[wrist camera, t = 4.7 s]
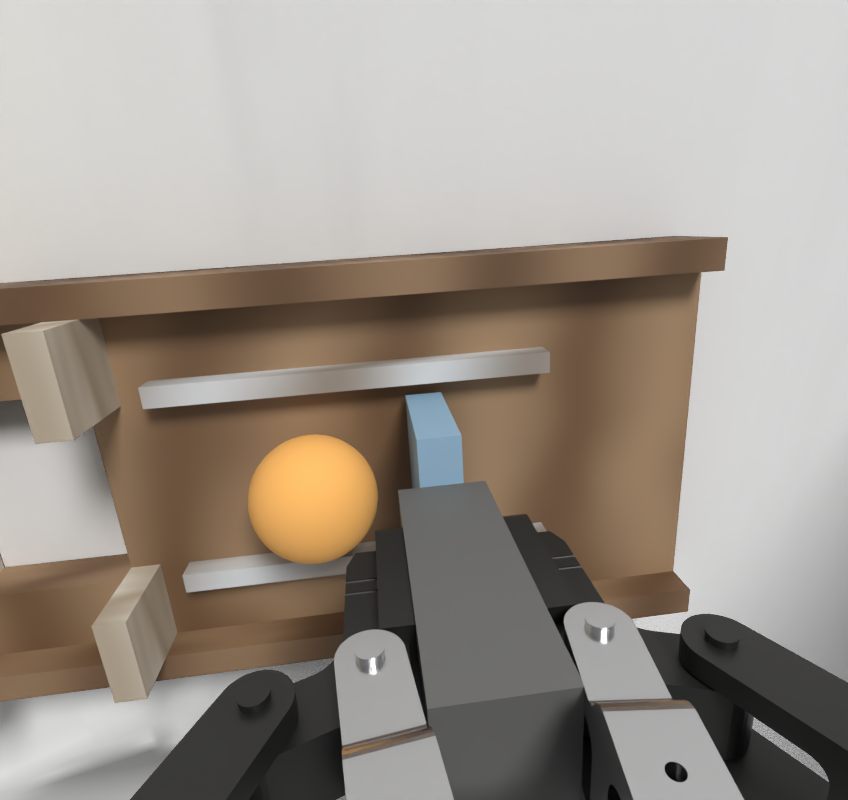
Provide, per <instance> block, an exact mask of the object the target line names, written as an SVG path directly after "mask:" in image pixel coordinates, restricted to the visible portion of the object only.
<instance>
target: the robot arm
mask: <svg viewBox="0 0 848 800" xmlns="http://www.w3.org/2000/svg"><path fill="white" fill-rule="evenodd" d="M503 518H504V520H505V522H506V524H507V527H508V529H509V531H510V533H511V535H512V537H513V539H514V541H515V543H516V545H517V547H518V549H519V551H520V553H521V555H522V557H523V559H524V562H525V564H526V566H527V568H528V570H529V572H530V574H531V576H532V578H533V580H534V582H535V584H536V586H537V588H538V590H539V592H540V595H541V597H542V599H543V601H544V603H545V605H546V607H547V609H548V611H549V613H550V615H551V617H552V619H553V621H554V623H555V625H556V627H557V630H558V632H559V634H560V636H561V638H562V640H563V642H564V644H565V646H566V648H567V650H568V652H569V654H570V656H571V658H572V660H573V662H574V665H575V667H576V669H577V671H578V673H579V675H580V677H581V679H582V682H583V685H584V704H583V711H584V732H583V758H582V781H581V783H580V800H848V683H847V682H845V681H844V680H842V679H840V678H838V677H836V676H835V675H833V674H831V673H829V672H827V671H826V670H824V669H822V668H820V667H818V666H817V665H815V664H813V663H811V662H809V661H808V660H806V659H804V658H802V657H800V656H799V655H797V654H795V653H793V652H791V651H790V650H788V649H786V648H784V647H782V646H781V645H779V644H777V643H775V642H773V641H772V640H770V639H768V638H766V637H764V636H763V635H761V634H759V633H757V632H755V631H754V630H752V629H750V628H748V627H746V626H745V625H743V624H741V623H739V622H737V621H735V620H732V619H730V618H727V617H723V616H719V615H714V614H699V615H694V616H691V617H689V618H688V619H686V620H685V621H684V622H683V624H682V626H681V633H680V634H673V633H664V632H656V631H649V630H644V629H640V628H637V627H636V625H635V624H634V622H633V620H632V619H631V618H630V617H629V616H628V615H627V614H626V613H625V612H623V611H622V610H620V609H618V608H616V607H614V606H611V605H608V604H605V603H604V601H603V599H602V598H601V596H600V595H599V593H598V592H597V590H596V589H595V587H594V585H593V584H592V582H591V581H590V579H589V578H588V576H587V575H586V573H585V571H584V570H583V568H581V567H580V564H579V562H578V561H577V559H576V557H574V555H573V553H572V551H571V550H570V548H569V547H568V545H567V543H566V542H565V541H564V540H562V539H561V538H560V537H558V536H557V535H555V534H554V533H552V532H551V531H545V532H537V531H536V529H535V527H534V525H533V524H532V522H531V520H530V518H529V517H528V515H527V514H519V515H510V516H503ZM375 541H376V551H369V552H360V553H355V555H354V556H353V558H352V559H351V561H350V562H349V564H348V565H347V567H346V588H345V608H344V629H343V643H342V644H341V645H340V646H339V648H338V649H337V651H336V653H335V657H334V661H333V662H332V663H331V664H330V665H329V666H327V667H326V668H325V669H324V670H322V671H320V672H319V673H317V674H315V675H313V676H310V677H308V678H305V679H303V680H300V681H298V682H296V683H293V682H292V681H291V679H290V678H289V677H288V676H287V675H285V674H284V673H281V672H279V671H274V670H261V671H256V672H252V673H250V674H247V675H245V676H243V677H241V678H239V679H237V680H236V681H234V682H233V683H232V684H230V685H229V686H228V687H227V688H226V689H225V690H224V691H223V692H222V693H221V695H220V696H219V697H218V698H217V699H216V700H215V702H214V703H213V704H212V705H211V706H210V707H209V709H208V710H207V711H206V712H205V713H204V714H203V715H202V717H201V718H200V719H199V720H198V721H197V722H196V724H195V725H194V726H193V727H192V728H191V729H190V731H189V732H188V733H187V734H186V735H185V736H184V738H183V739H182V740H181V741H180V742H179V743H178V745H177V746H176V747H175V748H174V749H173V750H172V751H171V753H170V754H169V755H168V756H167V757H166V758H165V760H164V761H163V762H162V763H161V764H160V766H159V767H158V768H157V769H156V770H155V771H154V772H153V774H152V775H151V776H150V777H149V778H148V779H147V781H146V782H145V783H144V784H143V785H142V786H141V788H140V789H139V790H138V791H137V792H136V793H135V795H134V796H133V797H132V798H131V799H130V800H336V799H338V798H340V797H342V796H344V795H346V800H454V798H453V795H452V791H451V788H450V784H449V781H448V777H447V774H446V770H445V767H444V763H443V760H442V756H441V753H440V749H439V746H438V742H437V739H436V736H435V733H434V730H433V728H432V727H431V726H429V727H427V724H426V720H425V717H424V713H423V708H422V696H421V683H420V671H419V659H418V647H417V634H416V623H415V615H414V608H413V600H412V593H411V585H410V578H409V570H408V563H407V555H406V548H405V540H404V533H403V527H401V528H393V529H384V530H375ZM754 717H755V718H756V719H758V720H759V721H761V722H762V723H764V724H765V725H767V726H768V727H770V728H771V729H773V730H774V731H776V732H777V733H779V734H780V735H781V736H783V737H784V738H786V739H787V740H789V741H790V742H792V743H793V744H795V745H796V746H798V747H799V748H801V749H802V750H803V751H805V752H806V753H808V754H809V755H810V756H812V757H813V758H814V759H815V760H816V761H817V762H818V763H819V764H820V765H821V767H822V768H823V769H824V771H825V773H826V775H827V777H828V779H829V782H827V781H826V780H825V779H823V778H822V777H820V776H819V775H817V774H816V773H815V772H813V771H812V770H810V769H809V768H807V767H806V766H804V765H803V764H802V763H800V762H799V761H797V760H796V759H794V758H793V757H792V756H790V755H789V754H787V753H786V752H784V751H783V750H782V749H780V748H779V747H777V746H776V745H774V744H773V743H772V742H770V741H769V740H767V739H766V738H764V737H763V736H762V735H760V734H759V733H757V732H756V731H754V730H753V729H752V725H753V719H754Z"/></svg>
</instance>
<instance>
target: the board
mask: <svg viewBox="0 0 848 800" xmlns="http://www.w3.org/2000/svg"><path fill="white" fill-rule="evenodd" d="M727 241H728V237H691V236H669V237H655V238H641V239H626V240H612V241H598V242H584V243H569V244H555V245H541V246H526V247H512V248H498V249H484V250H469V251H455V252H441V253H426V254H412V255H398V256H383V257H369V258H355V259H341V260H326V261H312V262H298V263H283V264H269V265H255V266H240V267H226V268H212V269H198V270H183V271H169V272H155V273H140V274H126V275H112V276H98V277H83V278H69V279H55V280H40V281H26V282H12V283H0V401H10V400H22V403H23V406H24V410H25V413H26V416H27V419H28V423H29V426H30V429H31V432H32V436H33V439H34V442H35V444H40V443H50V442H61V441H72V440H75V439H76V438H78V437H79V436H80V435H82V434H83V433H85V432H86V431H87V430H89V429H90V428H91V427H93V426H94V430H95V434H96V437H97V441H98V445H99V449H100V452H101V456H102V460H103V463H104V467H105V471H106V475H107V478H108V482H109V486H110V489H111V493H112V497H113V501H114V504H115V508H116V512H117V515H118V519H119V523H120V527H121V530H122V534H123V538H124V541H125V545H126V549H127V553H128V554H122V555H113V556H104V557H95V558H86V559H77V560H68V561H59V562H50V563H41V564H33V565H24V566H15V567H6V568H5V567H4V565H3V562H2V559H1V556H0V701H8V700H15V699H23V698H30V697H38V696H46V695H53V694H61V693H69V692H76V691H84V690H92V689H99V688H107V687H110V688H111V692H112V695H113V698H114V701H115V703H118V702H126V701H133V700H141V699H147V698H148V696H149V694H150V691H151V689H152V687H153V685H154V683H155V681H160V680H168V679H175V678H183V677H191V676H198V675H206V674H214V673H221V672H229V671H237V670H244V669H252V668H259V667H267V666H275V665H282V664H290V663H298V662H305V661H313V660H321V659H328V658H334V657H335V653H336V651H337V649H338V648H339V646H340V645H341V644H342V643H343V629H344V608H345V588H346V567H347V565H348V564H349V562H350V561H351V559H352V558H353V556H354V555H355V553H360V552H369V551H376V541H375V530H384V529H393V528H401V520H400V508H399V497H398V490H403V489H412V477H411V464H410V451H409V438H408V425H407V412H406V399H405V395H414V394H425V393H436V392H441V393H442V395H443V398H444V400H445V402H446V404H447V406H448V408H449V410H450V412H451V414H452V416H453V418H454V421H455V423H456V425H457V427H458V429H459V431H460V433H461V435H462V456H463V479H464V483H469V482H478V481H486V483H487V485H488V487H489V489H490V492H491V494H492V496H493V498H494V500H495V502H496V504H497V506H498V508H499V510H500V512H501V514H502V516H510V515H519V514H527V515H528V517H529V518H530V520H531V522H532V524H533V525H534V527H535V529H536V531H537V532H545V531H551V532H552V533H554V534H555V535H557V536H558V537H560V538H561V539H562V540H564V541H565V542H566V543H567V545H568V547H569V548H570V550H571V551H572V553H573V555H574V557H576V559H577V561H578V562H579V564H580V567H581V568H583V570H584V571H585V573H586V575H587V576H588V578H589V579H590V581H591V582H592V584H593V585H594V587H595V589H596V590H597V592H598V593H599V595H600V596H601V598H602V599H603V601H604V603H605V604H608V605H611V606H614V607H616V608H618V609H620V610H622V611H623V612H625V613H626V614H627V615H628V616H629V617H630V618H631V619H633V618H641V617H649V616H656V615H664V614H672V613H679V612H687V611H688V604H689V594H690V589H689V588H688V587H687V586H686V585H685V584H684V583H683V582H682V580H681V579H680V578H679V577H678V576H677V575H676V574H675V573H674V572H673V565H674V555H675V544H676V534H677V523H678V513H679V502H680V491H681V481H682V470H683V460H684V449H685V439H686V428H687V417H688V407H689V396H690V386H691V375H692V365H693V354H694V343H695V333H696V322H697V312H698V301H699V291H700V280H701V272H710V271H723V270H724V268H725V259H726V250H727ZM313 434H318V435H327V436H332V437H335V438H338V439H340V440H342V441H344V442H346V443H348V444H349V445H351V446H352V447H354V448H355V449H356V450H357V451H358V452H360V454H361V455H362V456H363V457H364V458H365V459H366V461H367V462H368V464H369V466H370V467H371V469H372V471H373V474H374V477H375V480H376V484H377V490H378V503H377V511H376V514H375V518H374V520H373V523H372V525H371V527H370V529H369V531H368V532H367V534H366V535H365V537H364V538H363V539H362V540H361V542H360V543H359V544H358V545H357V546H356V547H355V548H353V549H352V550H351V551H349V552H348V553H347V554H345V555H343V556H341V557H340V558H337V559H335V560H332V561H329V562H325V563H319V564H301V563H296V562H292V561H289V560H287V559H284V558H282V557H280V556H278V555H276V554H275V553H274V552H272V551H271V550H270V549H268V548H267V547H266V546H265V545H264V543H263V542H262V541H261V540H260V538H259V537H258V536H257V534H256V532H255V531H254V528H253V526H252V524H251V520H250V517H249V513H248V491H249V486H250V483H251V480H252V477H253V474H254V472H255V471H256V469H257V467H258V465H259V464H260V463H261V461H262V460H263V459H264V457H265V456H266V455H267V454H268V453H269V452H271V451H272V450H273V449H274V448H276V447H277V446H278V445H280V444H282V443H283V442H285V441H288V440H290V439H292V438H296V437H299V436H304V435H313Z"/></svg>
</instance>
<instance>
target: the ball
mask: <svg viewBox="0 0 848 800" xmlns="http://www.w3.org/2000/svg"><path fill="white" fill-rule="evenodd" d="M377 503H378V490H377V484H376V480H375V477H374V474H373V471H372V469H371V467H370V466H369V464H368V462H367V461H366V459H365V458H364V457H363V456H362V455H361V454H360V452H358V451H357V450H356V449H355V448H354V447H352V446H351V445H349V444H348V443H346V442H344V441H342V440H340V439H338V438H335V437H332V436H327V435H318V434H313V435H304V436H299V437H296V438H292V439H290V440H288V441H285V442H283V443H282V444H280V445H278V446H277V447H276V448H274V449H273V450H272V451H271V452H269V453H268V454H267V455H266V456H265V457H264V459H263V460H262V461H261V463H260V464H259V465H258V467H257V469H256V471H255V472H254V474H253V477H252V480H251V483H250V486H249V491H248V513H249V517H250V520H251V524H252V526H253V528H254V531H255V532H256V534H257V536H258V537H259V538H260V540H261V541H262V542H263V543H264V545H265V546H266V547H267V548H268V549H270V550H271V551H272V552H274V553H275V554H276V555H278V556H280V557H282V558H284V559H287V560H289V561H292V562H296V563H301V564H319V563H325V562H329V561H332V560H335V559H337V558H340V557H341V556H343V555H345V554H347V553H348V552H349V551H351V550H352V549H353V548H355V547H356V546H357V545H358V544H359V543H360V542H361V540H362V539H363V538H364V537H365V535H366V534H367V532H368V531H369V529H370V527H371V525H372V523H373V520H374V518H375V514H376V511H377Z"/></svg>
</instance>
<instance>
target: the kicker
mask: <svg viewBox="0 0 848 800" xmlns="http://www.w3.org/2000/svg"><path fill="white" fill-rule="evenodd" d="M405 399H406V412H407V425H408V438H409V451H410V464H411V477H412V489H403V490H398V497H399V508H400V520H401V527H403V533H404V540H405V548H406V555H407V563H408V570H409V578H410V585H411V593H412V600H413V608H414V615H415V623H416V634H417V647H418V659H419V671H420V683H421V696H422V708H423V713H424V717H425V720H426V724H427V727H429V726H431V727H432V728H433V730H434V733H435V736H436V739H437V742H438V746H439V749H440V753H441V756H442V760H443V763H444V767H445V770H446V774H447V777H448V781H449V784H450V788H451V791H452V795H453V798H454V800H580V783H581V781H582V758H583V732H584V711H583V704H584V685H583V682H582V679H581V677H580V675H579V673H578V671H577V669H576V667H575V665H574V662H573V660H572V658H571V656H570V654H569V652H568V650H567V648H566V646H565V644H564V642H563V640H562V638H561V636H560V634H559V632H558V630H557V627H556V625H555V623H554V621H553V619H552V617H551V615H550V613H549V611H548V609H547V607H546V605H545V603H544V601H543V599H542V597H541V595H540V592H539V590H538V588H537V586H536V584H535V582H534V580H533V578H532V576H531V574H530V572H529V570H528V568H527V566H526V564H525V562H524V559H523V557H522V555H521V553H520V551H519V549H518V547H517V545H516V543H515V541H514V539H513V537H512V535H511V533H510V531H509V529H508V527H507V524H506V522H505V520H504V518H503V516H502V514H501V512H500V510H499V508H498V506H497V504H496V502H495V500H494V498H493V496H492V494H491V492H490V489H489V487H488V485H487V483H486V481H478V482H469V483H464V479H463V456H462V435H461V433H460V431H459V429H458V427H457V425H456V423H455V421H454V418H453V416H452V414H451V412H450V410H449V408H448V406H447V404H446V402H445V400H444V398H443V395H442V393H441V392H436V393H425V394H414V395H405Z"/></svg>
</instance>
